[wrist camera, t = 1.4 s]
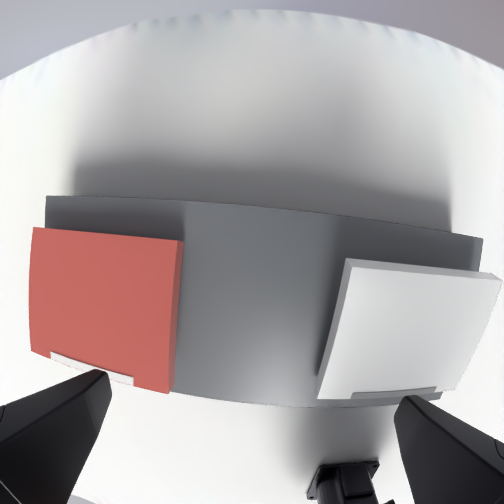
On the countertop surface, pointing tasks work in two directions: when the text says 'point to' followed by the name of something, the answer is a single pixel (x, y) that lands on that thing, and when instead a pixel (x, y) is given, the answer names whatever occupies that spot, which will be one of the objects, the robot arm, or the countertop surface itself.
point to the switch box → (260, 286)
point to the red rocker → (106, 304)
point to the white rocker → (403, 329)
